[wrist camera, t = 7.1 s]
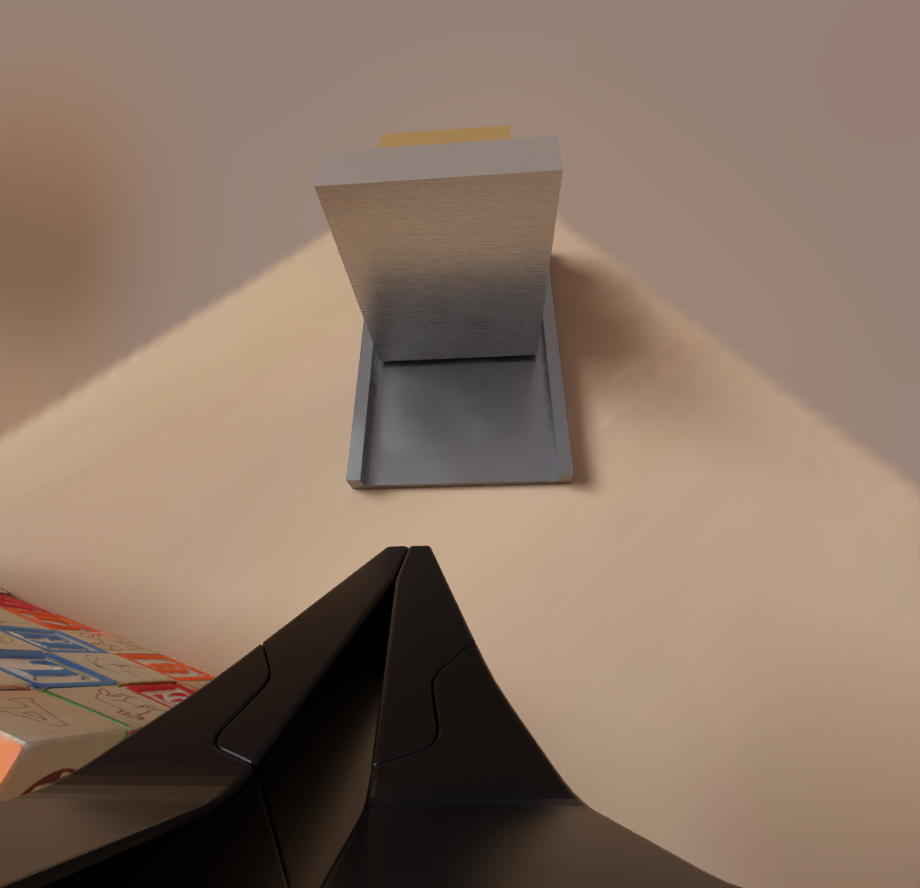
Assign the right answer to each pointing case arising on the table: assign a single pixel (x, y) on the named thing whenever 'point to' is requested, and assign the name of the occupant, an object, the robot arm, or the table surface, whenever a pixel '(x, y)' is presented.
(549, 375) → the vise
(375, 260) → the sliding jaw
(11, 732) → the stack of blocks
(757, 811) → the table surface
